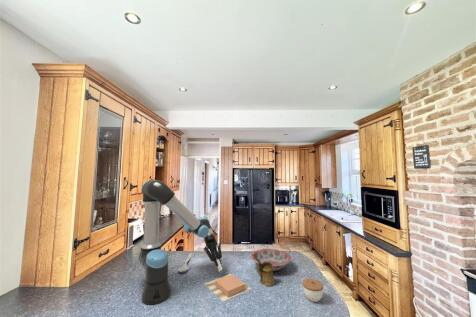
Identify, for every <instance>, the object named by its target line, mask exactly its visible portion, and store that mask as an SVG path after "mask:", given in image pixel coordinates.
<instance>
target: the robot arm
mask: <svg viewBox="0 0 476 317" xmlns="http://www.w3.org/2000/svg"><path fill="white" fill-rule="evenodd" d="M141 194H142V203H144V229H143V243H142V244H141V246H140V252H139V254H138V262H139V263H140V265H141V266H142V268H143V270H145V284H144V288H143V292H142V293H141V302H142V303H143V304H145V305H153V306H154V305H157V304H160V303H163V302H164V301H166V300H168V299H169V298H170V296H171V294H172V290H171V289H172V288H171V286H170V282H169V260H170V259H169V253H168V251H167V250H164V249H162V243H161V242H160V241H159V240H160V239H159V238H160V236H159V235H160V211H161V210H160V209H161V207H160V206H166V207H167V209H169V210H170V211H171V212H172V213H173V214H174V215H175V216H176V217H177V218H178V219H179V220H180V221H181V222H182V223H183V232H184V233H185V234H189V233H192V234H194V235H196V236H197V237H199V238H203V240H204V243H205V247H204V248H203V251H204V252H205V253H206V255H207V257H208V258H209V260H210V262H213V263H214V265H215V266H216V267H217V270H218V272H219V273H220V272H222V271H223V267H222V258H223V254H222V250H221V248H222V246H221V245H222V243H218V242H217V240H216V237H215V234H214V231H213V229H212V226H211V223H210V220H209V218H208V217H207V216H201V217H199V218H197V217H196V216H195V214H193V212H191V210H189V208H188V207H186V205H184V203H182V202H181V200H179V199H178V198H177V197H176V193H175V192H174V191H173V190H172V189H171V188H170V187H169V186H168V185H167V183H165V182H164V181H162V180H160V179H150V180H147V181H146V182H144V183H143V184H142V186H141Z"/></svg>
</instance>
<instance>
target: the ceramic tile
mask: <svg viewBox="0 0 476 317" xmlns="http://www.w3.org/2000/svg"><path fill="white" fill-rule="evenodd" d="M230 274H231V275H229V274H228V275H229V276H226V275H225V276H226V277H223V276H222V277H223V278H221V279H218V278H217V279H218V280H215V279H214V280H215V286H216V287H217V288H218V289H219V290H221V291H222V292H223V293H224V294H225V295H226V296H227V297H230V296H232V295H234V294H237V293H239V292H241V291H243V290H245V284H246V283H245V282H244V281H242V280H241V281H240V278H238V277H236V276H235V275H233V274H232V273H230ZM237 278H238V279H237ZM243 282H244V283H243Z"/></svg>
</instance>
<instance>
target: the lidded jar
mask: <svg viewBox="0 0 476 317" xmlns="http://www.w3.org/2000/svg"><path fill="white" fill-rule="evenodd" d="M301 284H302V291H303V293H304V296H305V297H306V298H307V300H308V301H310V302H312V303H318V302H319V301H320V300H321V299H322V298H323V296H324V284H323V282H321V280H317V279H315V278H305V279H303V280H302V282H301Z"/></svg>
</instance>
